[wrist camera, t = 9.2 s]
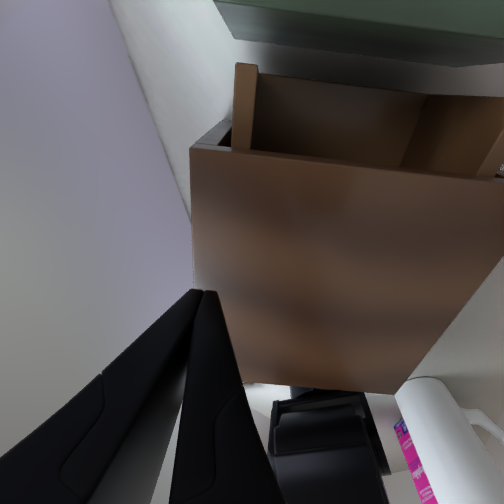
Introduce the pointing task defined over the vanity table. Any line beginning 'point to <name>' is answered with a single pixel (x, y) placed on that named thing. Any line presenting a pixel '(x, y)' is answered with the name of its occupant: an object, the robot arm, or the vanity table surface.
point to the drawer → (371, 98)
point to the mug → (450, 444)
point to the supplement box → (415, 464)
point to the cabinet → (337, 260)
